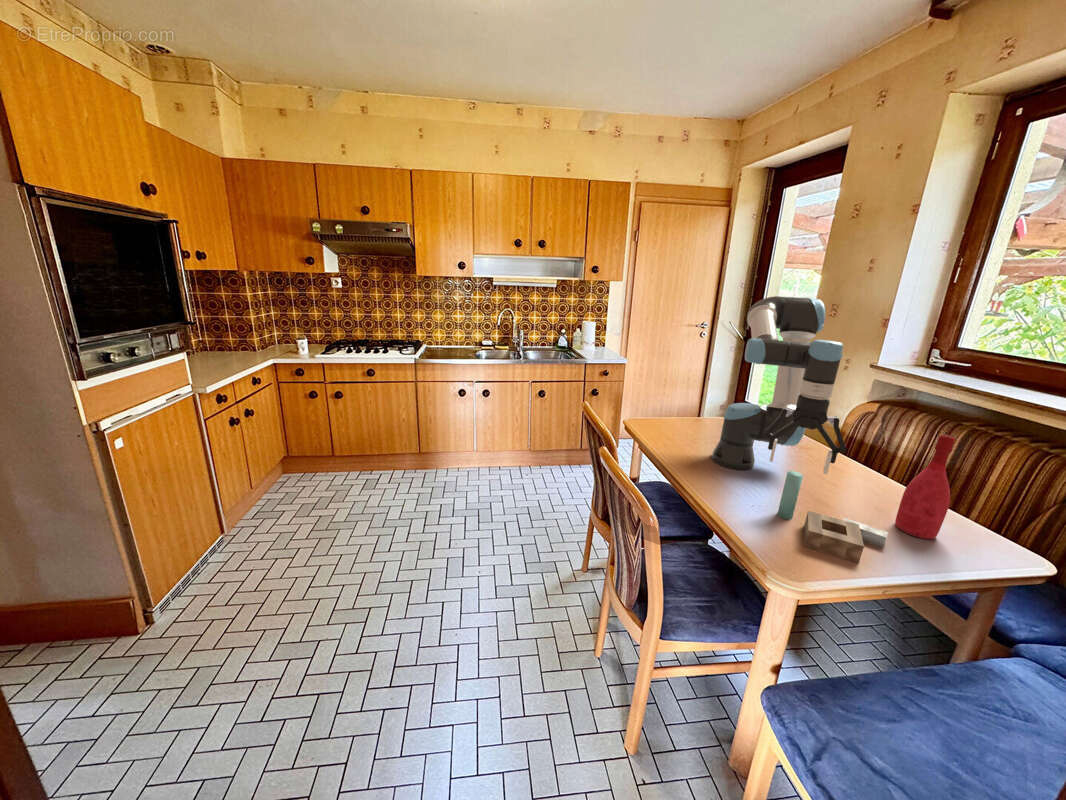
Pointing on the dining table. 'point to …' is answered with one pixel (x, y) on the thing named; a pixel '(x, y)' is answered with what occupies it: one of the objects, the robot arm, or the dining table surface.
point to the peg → (790, 495)
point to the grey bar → (871, 534)
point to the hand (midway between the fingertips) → (797, 466)
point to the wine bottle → (927, 496)
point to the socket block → (833, 536)
